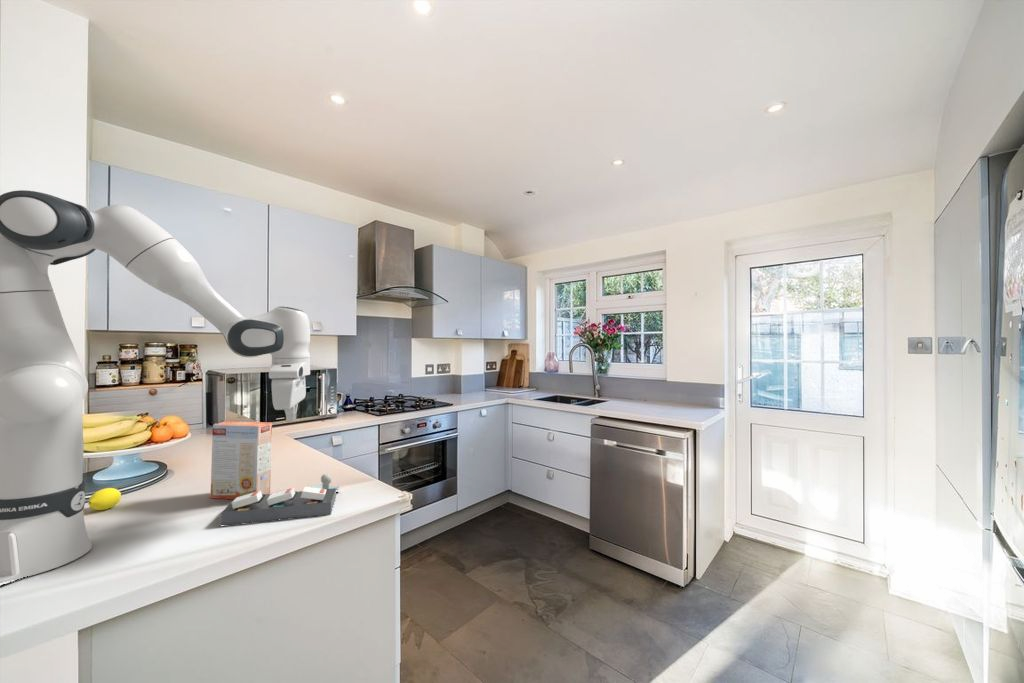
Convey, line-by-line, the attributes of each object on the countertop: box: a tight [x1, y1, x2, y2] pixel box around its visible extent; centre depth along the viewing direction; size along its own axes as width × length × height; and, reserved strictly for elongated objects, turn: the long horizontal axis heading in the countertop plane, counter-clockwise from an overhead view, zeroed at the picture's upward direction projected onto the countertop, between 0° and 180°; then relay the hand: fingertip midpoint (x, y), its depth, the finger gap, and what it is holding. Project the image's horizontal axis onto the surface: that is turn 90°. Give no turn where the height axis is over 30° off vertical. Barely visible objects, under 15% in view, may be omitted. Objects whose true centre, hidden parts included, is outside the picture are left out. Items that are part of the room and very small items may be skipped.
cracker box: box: [210, 420, 273, 500], centre depth 110 cm, size 14×6×21 cm, turn 84°
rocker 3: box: [301, 486, 327, 500], centre depth 100 cm, size 5×3×2 cm, turn 108°
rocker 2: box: [267, 487, 295, 506], centre depth 98 cm, size 5×3×2 cm, turn 108°
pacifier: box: [312, 473, 341, 493], centre depth 113 cm, size 7×6×6 cm
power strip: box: [220, 488, 337, 526], centre depth 100 cm, size 24×10×4 cm, turn 108°
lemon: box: [87, 487, 122, 511], centre depth 99 cm, size 7×5×5 cm
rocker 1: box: [231, 490, 262, 509], centre depth 95 cm, size 5×3×2 cm, turn 108°
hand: (291, 421), depth 101 cm, fingers closed
